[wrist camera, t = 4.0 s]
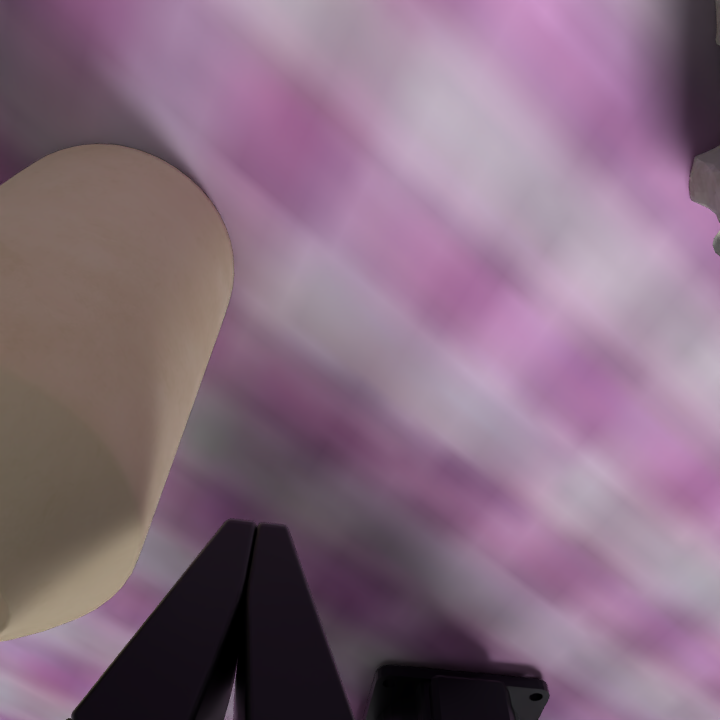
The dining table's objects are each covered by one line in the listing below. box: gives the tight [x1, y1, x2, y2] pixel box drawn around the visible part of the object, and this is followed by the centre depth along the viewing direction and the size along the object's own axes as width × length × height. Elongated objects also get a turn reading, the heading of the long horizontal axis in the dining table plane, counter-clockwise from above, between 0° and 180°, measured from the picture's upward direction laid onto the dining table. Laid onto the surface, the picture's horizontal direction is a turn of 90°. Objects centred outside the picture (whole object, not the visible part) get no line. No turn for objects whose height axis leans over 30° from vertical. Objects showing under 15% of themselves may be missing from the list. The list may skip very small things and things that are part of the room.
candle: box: [0, 144, 234, 642], centre depth 12 cm, size 6×6×10 cm
